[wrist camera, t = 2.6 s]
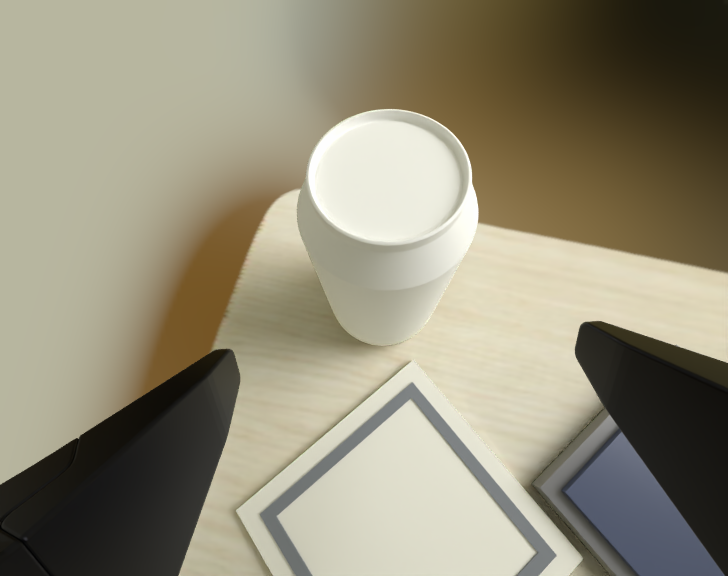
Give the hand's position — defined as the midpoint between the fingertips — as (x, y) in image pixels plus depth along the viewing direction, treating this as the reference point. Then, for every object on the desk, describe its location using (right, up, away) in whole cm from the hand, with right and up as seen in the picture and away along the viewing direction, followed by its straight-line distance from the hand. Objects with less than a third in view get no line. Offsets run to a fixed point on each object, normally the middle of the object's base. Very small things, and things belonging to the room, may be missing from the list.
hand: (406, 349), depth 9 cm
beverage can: (0, +1, +13) cm, 13 cm away
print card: (+1, -11, +8) cm, 13 cm away
